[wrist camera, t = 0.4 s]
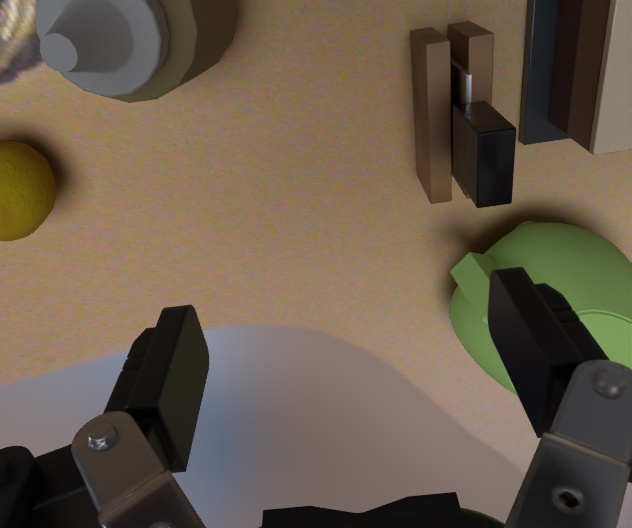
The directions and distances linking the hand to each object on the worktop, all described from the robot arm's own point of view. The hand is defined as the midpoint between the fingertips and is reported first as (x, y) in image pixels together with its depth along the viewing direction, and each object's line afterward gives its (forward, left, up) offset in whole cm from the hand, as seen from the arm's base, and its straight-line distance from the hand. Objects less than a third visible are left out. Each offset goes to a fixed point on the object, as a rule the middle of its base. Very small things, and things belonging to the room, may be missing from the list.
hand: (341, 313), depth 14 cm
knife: (+2, +8, -24) cm, 26 cm away
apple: (+2, -22, -25) cm, 33 cm away
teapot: (+18, +15, -25) cm, 34 cm away
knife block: (+2, +8, -24) cm, 26 cm away
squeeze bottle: (-7, -8, -25) cm, 27 cm away
